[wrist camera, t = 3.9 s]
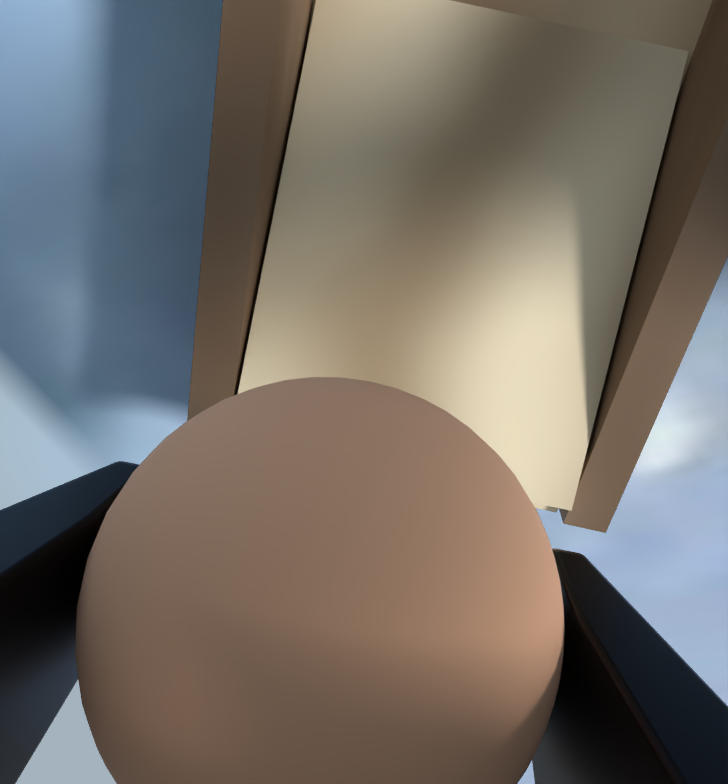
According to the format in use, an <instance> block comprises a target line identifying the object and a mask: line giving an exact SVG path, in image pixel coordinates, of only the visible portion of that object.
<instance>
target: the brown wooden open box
mask: <svg viewBox="0 0 728 784" xmlns="http://www.w3.org/2000/svg"><path fill="white" fill-rule="evenodd" d="M727 257H728V0H223V7H222V18H221V30H220V42H219V54H218V65H217V77H216V89H215V101H214V113H213V124H212V136H211V148H210V160H209V172H208V183H207V195H206V207H205V219H204V231H203V242H202V254H201V266H200V278H199V290H198V301H197V313H196V325H195V337H194V349H193V360H192V372H191V384H190V396H189V407H188V419H187V421H188V420H190V419H191V418H193V417H194V416H196V415H198V414H199V413H201V412H202V411H204V410H206V409H208V408H209V407H211V406H213V405H215V404H217V403H218V402H220V401H222V400H224V399H227V398H229V397H232V396H234V395H237V394H239V393H242V392H244V391H247V390H250V389H253V388H256V387H259V386H263V385H267V384H271V383H275V382H280V381H284V380H290V379H299V378H308V377H342V378H349V379H357V380H365V381H370V382H374V383H378V384H382V385H386V386H390V387H394V388H397V389H400V390H402V391H405V392H407V393H410V394H413V395H415V396H418V397H420V398H423V399H425V400H426V401H428V402H430V403H432V404H434V405H436V406H438V407H440V408H441V409H443V410H445V411H447V412H448V413H450V414H451V415H453V416H454V417H455V418H457V419H458V420H460V421H461V422H463V423H464V424H465V425H467V426H468V427H469V428H470V429H472V430H473V431H474V432H475V433H476V434H477V435H478V436H479V437H480V438H481V439H482V440H483V441H485V442H486V443H487V444H488V445H489V446H490V447H491V448H492V449H493V450H494V451H495V452H496V453H497V454H498V455H499V456H500V457H501V459H502V460H503V461H504V462H505V463H506V465H507V466H508V467H509V468H510V469H511V471H512V472H513V473H514V474H515V476H516V477H517V479H518V481H519V482H520V484H521V486H522V487H523V489H524V491H525V492H526V494H527V495H528V497H529V499H530V500H531V502H532V504H533V505H534V507H535V508H538V509H543V510H548V511H552V512H557V510H558V508H559V510H560V513H561V517H562V520H563V523H564V524H568V525H573V526H577V527H582V528H586V529H591V530H595V531H600V532H604V533H606V531H607V529H608V526H609V524H610V522H611V520H612V517H613V515H614V513H615V510H616V508H617V506H618V504H619V501H620V499H621V497H622V495H623V492H624V490H625V488H626V486H627V483H628V481H629V479H630V477H631V474H632V472H633V470H634V467H635V465H636V463H637V461H638V458H639V456H640V454H641V452H642V449H643V447H644V445H645V443H646V440H647V438H648V436H649V434H650V431H651V429H652V427H653V424H654V422H655V420H656V418H657V415H658V413H659V411H660V409H661V406H662V404H663V402H664V400H665V397H666V395H667V393H668V391H669V388H670V386H671V384H672V381H673V379H674V377H675V375H676V372H677V370H678V368H679V366H680V363H681V361H682V359H683V357H684V354H685V352H686V350H687V348H688V345H689V343H690V341H691V338H692V336H693V334H694V332H695V329H696V327H697V325H698V323H699V320H700V318H701V316H702V314H703V311H704V309H705V307H706V305H707V302H708V300H709V298H710V295H711V293H712V291H713V289H714V286H715V284H716V282H717V280H718V277H719V275H720V273H721V271H722V268H723V266H724V264H725V262H726V259H727Z"/></svg>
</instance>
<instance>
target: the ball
mask: <svg viewBox="0 0 728 784" xmlns="http://www.w3.org/2000/svg"><path fill="white" fill-rule="evenodd" d="M564 634H565V626H564V609H563V599H562V591H561V583H560V578H559V574H558V570H557V565H556V561H555V557H554V554H553V551H552V548H551V545H550V542H549V539H548V536H547V534H546V531H545V529H544V526H543V524H542V522H541V519H540V517H539V514H538V512H537V510H536V509H535V507H534V505H533V504H532V502H531V500H530V499H529V497H528V495H527V494H526V492H525V491H524V489H523V487H522V486H521V484H520V482H519V481H518V479H517V477H516V476H515V474H514V473H513V472H512V471H511V469H510V468H509V467H508V466H507V465H506V463H505V462H504V461H503V460H502V459H501V457H500V456H499V455H498V454H497V453H496V452H495V451H494V450H493V449H492V448H491V447H490V446H489V445H488V444H487V443H486V442H485V441H483V440H482V439H481V438H480V437H479V436H478V435H477V434H476V433H475V432H474V431H473V430H472V429H470V428H469V427H468V426H467V425H465V424H464V423H463V422H461V421H460V420H458V419H457V418H455V417H454V416H453V415H451V414H450V413H448V412H447V411H445V410H443V409H441V408H440V407H438V406H436V405H434V404H432V403H430V402H428V401H426V400H425V399H423V398H420V397H418V396H415V395H413V394H410V393H407V392H405V391H402V390H400V389H397V388H394V387H390V386H386V385H382V384H378V383H374V382H370V381H365V380H357V379H349V378H342V377H308V378H299V379H290V380H284V381H280V382H275V383H271V384H267V385H263V386H259V387H256V388H253V389H250V390H247V391H244V392H242V393H239V394H237V395H234V396H232V397H229V398H227V399H224V400H222V401H220V402H218V403H217V404H215V405H213V406H211V407H209V408H208V409H206V410H204V411H202V412H201V413H199V414H198V415H196V416H194V417H193V418H191V419H190V420H188V421H187V422H185V423H184V424H183V425H182V426H180V427H179V428H178V429H176V430H175V431H174V432H173V433H171V434H170V435H169V436H167V437H166V438H165V439H164V440H163V441H162V442H161V443H160V444H159V445H158V446H157V447H156V448H155V449H154V450H153V451H152V452H151V453H150V454H149V455H148V457H147V458H146V459H145V460H144V461H143V462H142V463H141V464H140V465H139V466H138V467H137V468H136V469H135V471H134V472H133V473H132V474H131V476H130V477H129V479H128V481H127V482H126V484H125V485H124V487H123V488H122V490H121V491H120V493H119V494H118V496H117V497H116V499H115V500H114V502H113V504H112V505H111V507H110V508H109V510H108V511H107V513H106V515H105V518H104V520H103V522H102V525H101V527H100V529H99V532H98V534H97V536H96V539H95V541H94V544H93V546H92V549H91V551H90V553H89V556H88V558H87V563H86V567H85V572H84V576H83V581H82V585H81V590H80V595H79V599H78V604H77V618H76V646H75V658H76V665H77V673H78V680H79V686H80V693H81V699H82V705H83V708H84V711H85V714H86V717H87V721H88V724H89V727H90V730H91V732H92V735H93V738H94V741H95V743H96V746H97V749H98V751H99V753H100V755H101V757H102V759H103V761H104V763H105V765H106V767H107V769H108V770H109V772H110V773H111V775H112V777H113V778H114V780H115V781H116V783H117V784H517V783H518V782H519V780H520V779H521V777H522V776H523V774H524V773H525V772H526V770H527V768H528V766H529V764H530V762H531V760H532V758H533V757H534V755H535V753H536V751H537V748H538V746H539V744H540V742H541V739H542V737H543V735H544V733H545V731H546V728H547V726H548V722H549V719H550V716H551V713H552V710H553V707H554V703H555V699H556V695H557V691H558V687H559V683H560V678H561V670H562V662H563V651H564Z"/></svg>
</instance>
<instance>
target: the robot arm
mask: <svg viewBox="0 0 728 784" xmlns="http://www.w3.org/2000/svg"><path fill="white" fill-rule="evenodd" d="M138 466H139V465H138V464H133V463H129V462H123V461H119V462H115V463H113V464H110V465H108V466H105V467H103V468H101V469H98V470H96V471H93V472H91V473H89V474H86V475H84V476H81V477H79V478H77V479H74V480H72V481H70V482H67V483H65V484H63V485H60V486H57V487H55V488H53V489H50V490H48V491H46V492H43V493H41V494H38V495H36V496H33V497H31V498H29V499H26V500H24V501H21V502H19V503H16V504H14V505H12V506H10V507H7V508H4V509H2V510H0V784H15V783H16V782H17V780H18V778H19V777H20V775H21V773H22V771H23V770H24V768H25V767H26V765H27V763H28V762H29V760H30V758H31V757H32V755H33V753H34V752H35V750H36V748H37V747H38V745H39V743H40V742H41V740H42V738H43V736H44V735H45V733H46V731H47V730H48V728H49V727H50V725H51V723H52V722H53V720H54V718H55V717H56V715H57V713H58V712H59V710H60V708H61V707H62V705H63V703H64V702H65V700H66V698H67V696H68V695H69V693H70V692H71V690H72V688H73V687H74V685H75V683H76V682H77V680H78V673H77V665H76V658H75V646H76V618H77V604H78V599H79V595H80V590H81V585H82V581H83V576H84V572H85V567H86V563H87V558H88V556H89V553H90V551H91V549H92V546H93V544H94V541H95V539H96V536H97V534H98V532H99V529H100V527H101V525H102V522H103V520H104V518H105V515H106V513H107V511H108V510H109V508H110V507H111V505H112V504H113V502H114V500H115V499H116V497H117V496H118V494H119V493H120V491H121V490H122V488H123V487H124V485H125V484H126V482H127V481H128V479H129V477H130V476H131V474H132V473H133V472H134V471H135V469H136V468H137V467H138ZM552 551H553V554H554V557H555V561H556V565H557V570H558V574H559V578H560V583H561V591H562V599H563V609H564V626H565V634H564V651H563V662H562V670H561V678H560V683H559V687H558V691H557V695H556V699H555V703H554V707H553V710H552V713H551V716H550V719H549V722H548V726H547V728H546V731H545V733H544V735H543V737H542V739H541V742H540V744H539V746H538V748H537V751H536V753H535V755H534V757H533V758H532V763H533V771H534V779H535V784H728V706H727V705H726V704H725V703H724V702H723V701H722V700H721V699H720V698H719V697H718V695H717V694H716V693H715V692H714V691H713V690H712V689H711V688H710V687H709V686H708V685H707V684H706V683H705V682H704V681H703V680H702V679H701V678H700V677H699V676H698V674H697V673H696V672H695V671H694V670H693V669H692V668H691V667H690V666H689V665H688V664H687V663H686V662H685V661H684V660H683V659H682V658H681V657H680V656H679V655H678V653H677V652H676V651H675V650H674V649H673V648H672V647H671V646H670V645H669V644H668V643H667V642H666V641H665V640H664V639H663V638H662V637H661V636H660V635H659V634H658V633H657V631H656V630H655V629H654V628H653V627H652V626H651V625H650V624H649V623H648V622H647V621H646V620H645V619H644V618H643V617H642V616H641V615H640V614H639V613H638V612H637V610H636V609H635V608H634V607H633V606H632V605H631V604H630V603H629V602H628V601H627V600H626V599H625V598H624V597H623V596H622V595H621V594H620V593H619V592H618V591H617V589H616V588H615V587H614V586H613V585H612V584H611V583H610V582H609V581H608V580H607V579H606V578H605V577H604V576H603V575H602V574H601V573H600V572H599V571H598V570H597V568H596V567H595V566H594V565H593V564H592V563H591V562H590V561H589V560H588V559H587V558H586V557H585V556H584V555H582V554H580V553H575V552H570V551H565V550H560V549H555V548H553V549H552Z"/></svg>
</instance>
